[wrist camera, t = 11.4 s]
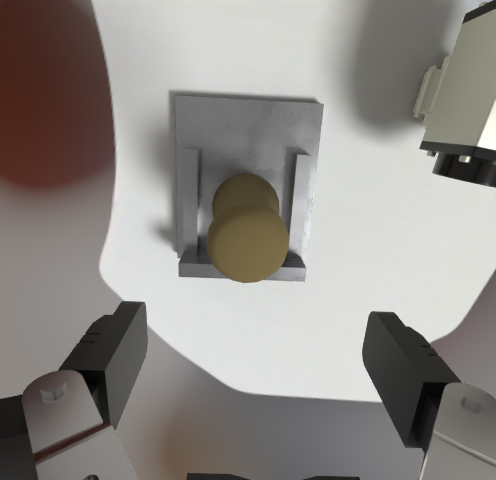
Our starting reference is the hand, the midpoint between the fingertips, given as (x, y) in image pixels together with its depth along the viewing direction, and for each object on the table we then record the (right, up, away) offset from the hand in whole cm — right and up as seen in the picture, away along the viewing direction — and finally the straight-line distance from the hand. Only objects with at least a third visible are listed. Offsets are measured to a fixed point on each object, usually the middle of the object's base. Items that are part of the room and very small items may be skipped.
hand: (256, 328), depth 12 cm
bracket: (-1, +8, +19) cm, 20 cm away
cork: (0, +6, +18) cm, 19 cm away
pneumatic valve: (+16, +15, +17) cm, 28 cm away
